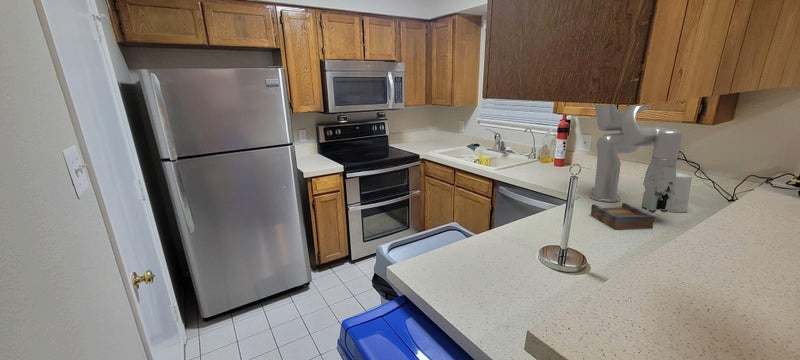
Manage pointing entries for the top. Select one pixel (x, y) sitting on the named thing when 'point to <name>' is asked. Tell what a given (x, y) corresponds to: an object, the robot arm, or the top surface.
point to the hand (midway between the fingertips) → (655, 205)
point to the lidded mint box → (652, 199)
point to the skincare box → (680, 193)
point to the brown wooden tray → (623, 217)
